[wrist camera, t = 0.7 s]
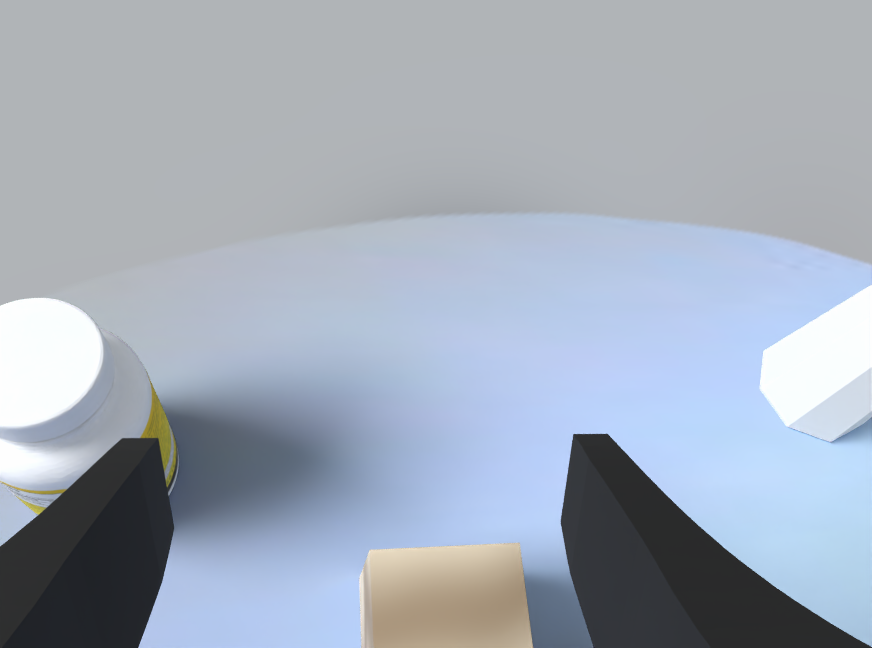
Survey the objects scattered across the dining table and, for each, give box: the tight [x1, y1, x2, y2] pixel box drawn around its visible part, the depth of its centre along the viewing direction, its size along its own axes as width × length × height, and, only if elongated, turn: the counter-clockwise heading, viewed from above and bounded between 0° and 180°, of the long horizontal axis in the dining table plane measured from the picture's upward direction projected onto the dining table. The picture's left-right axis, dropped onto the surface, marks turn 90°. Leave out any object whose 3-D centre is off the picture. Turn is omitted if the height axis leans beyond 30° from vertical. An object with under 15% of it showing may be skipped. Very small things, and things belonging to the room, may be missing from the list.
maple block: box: [359, 543, 533, 648], centre depth 26 cm, size 5×5×5 cm
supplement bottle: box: [0, 298, 179, 515], centre depth 25 cm, size 5×5×10 cm
